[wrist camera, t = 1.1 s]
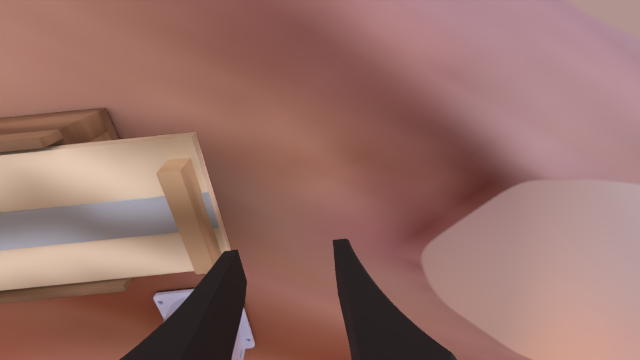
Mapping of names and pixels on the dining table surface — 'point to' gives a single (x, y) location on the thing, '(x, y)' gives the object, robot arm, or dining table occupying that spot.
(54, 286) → the keepsake box
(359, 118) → the dining table surface
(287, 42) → the dining table surface
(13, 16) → the dining table surface
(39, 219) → the lid
